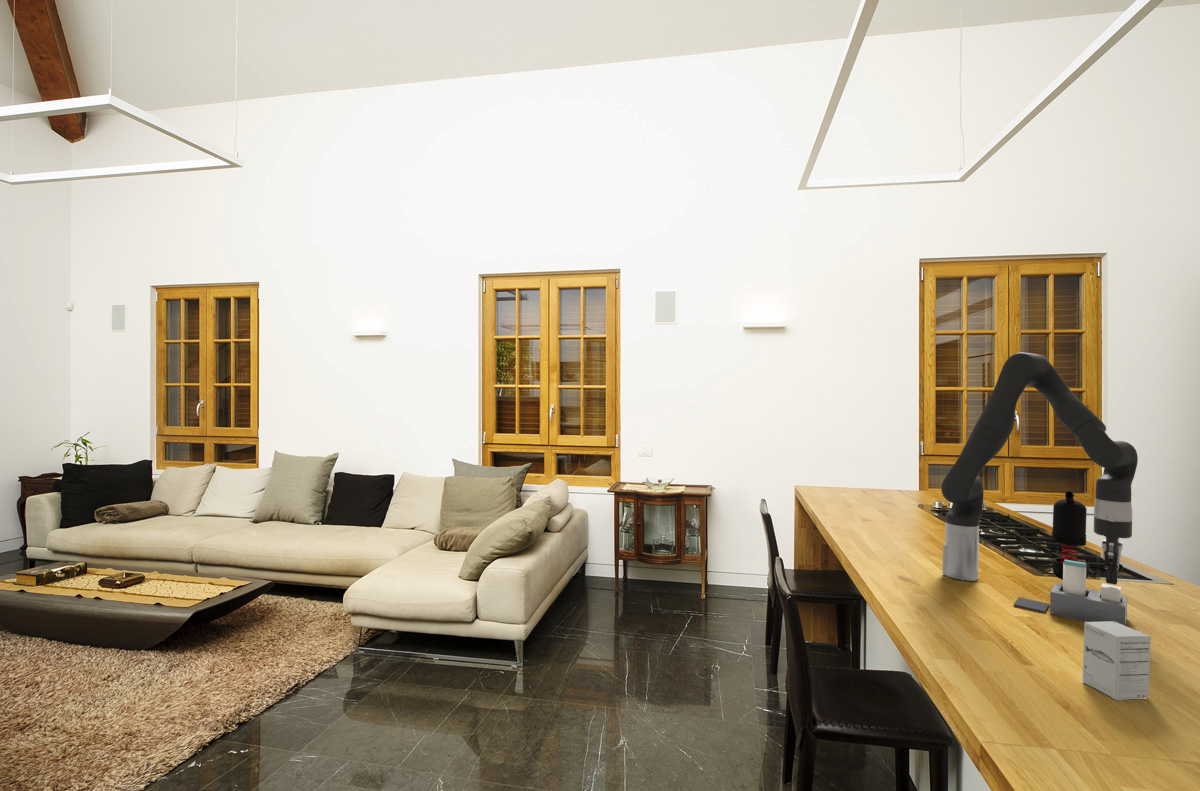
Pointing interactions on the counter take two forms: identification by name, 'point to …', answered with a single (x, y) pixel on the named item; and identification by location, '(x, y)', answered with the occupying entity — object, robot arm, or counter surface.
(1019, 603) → the mat
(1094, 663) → the supplement box
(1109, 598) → the off-white cube
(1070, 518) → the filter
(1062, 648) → the counter surface
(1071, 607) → the housing
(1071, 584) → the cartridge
